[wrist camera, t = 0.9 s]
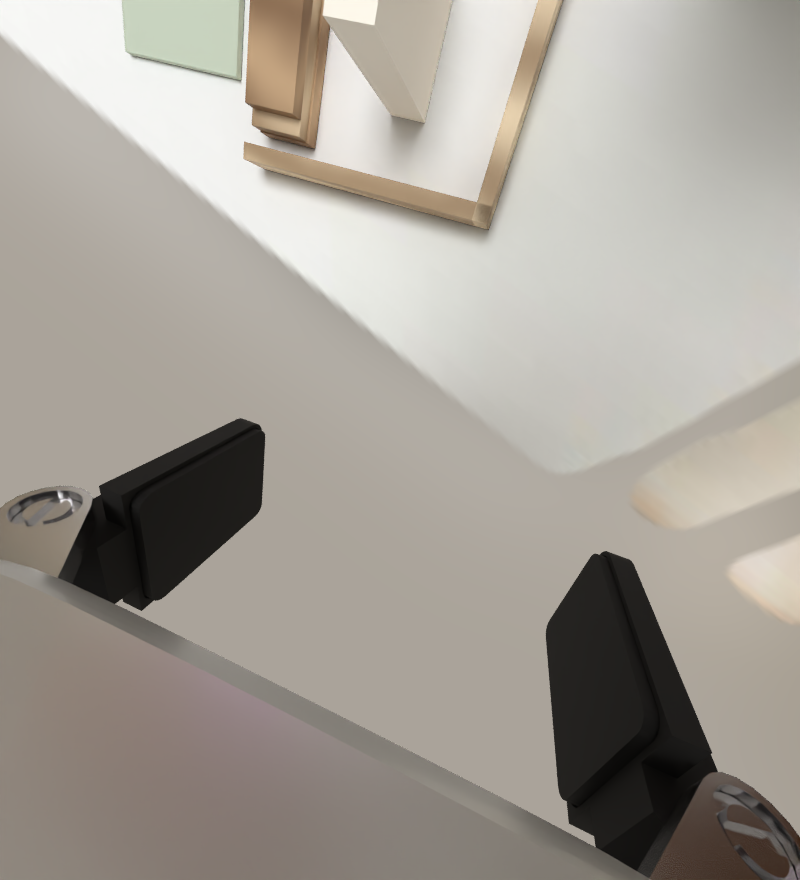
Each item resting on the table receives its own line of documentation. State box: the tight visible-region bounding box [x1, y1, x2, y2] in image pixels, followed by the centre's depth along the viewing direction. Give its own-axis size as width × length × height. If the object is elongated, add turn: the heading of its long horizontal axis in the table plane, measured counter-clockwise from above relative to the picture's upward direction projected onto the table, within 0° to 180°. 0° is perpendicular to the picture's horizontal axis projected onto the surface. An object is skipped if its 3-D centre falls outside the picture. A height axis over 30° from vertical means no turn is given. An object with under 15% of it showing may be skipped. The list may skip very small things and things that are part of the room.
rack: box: [243, 0, 563, 230], centre depth 26 cm, size 20×22×3 cm
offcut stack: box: [245, 0, 330, 149], centre depth 27 cm, size 15×5×4 cm, turn 164°
